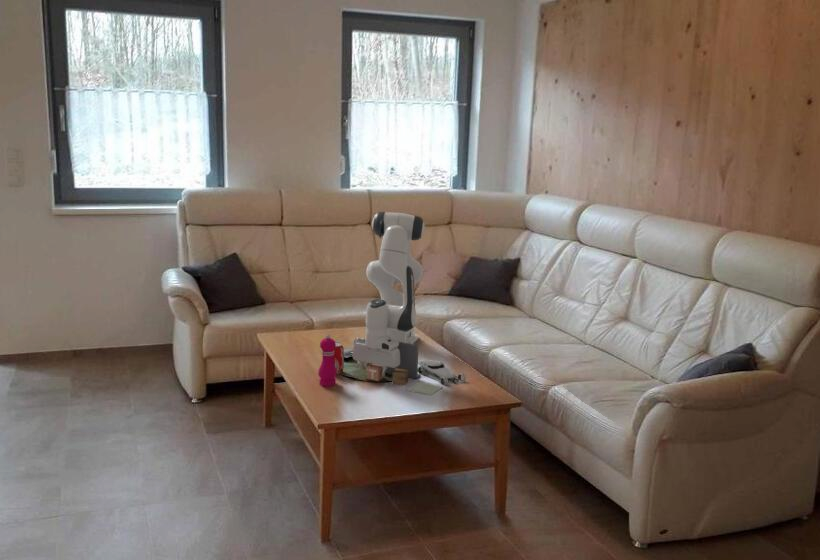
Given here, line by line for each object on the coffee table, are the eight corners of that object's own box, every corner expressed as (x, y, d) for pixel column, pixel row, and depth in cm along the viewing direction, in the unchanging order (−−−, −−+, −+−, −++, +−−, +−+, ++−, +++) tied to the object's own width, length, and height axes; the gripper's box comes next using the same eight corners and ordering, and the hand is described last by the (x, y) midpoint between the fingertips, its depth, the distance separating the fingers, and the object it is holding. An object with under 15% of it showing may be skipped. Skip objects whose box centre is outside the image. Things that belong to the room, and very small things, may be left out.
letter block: (373, 375, 311) (373, 363, 310) (384, 377, 309) (384, 365, 308) (366, 378, 307) (367, 366, 306) (377, 381, 304) (378, 369, 303)
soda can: (340, 375, 310) (341, 347, 307) (323, 374, 311) (324, 345, 309) (345, 370, 317) (346, 342, 314) (329, 368, 318) (329, 340, 316)
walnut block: (395, 380, 307) (395, 368, 306) (407, 381, 306) (408, 369, 305) (392, 384, 302) (392, 372, 301) (404, 385, 301) (405, 373, 300)
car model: (445, 388, 301) (445, 375, 300) (410, 370, 321) (411, 358, 319) (467, 383, 307) (468, 371, 306) (432, 366, 327) (432, 354, 326)
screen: (377, 367, 321) (378, 335, 318) (420, 376, 312) (421, 343, 309) (372, 370, 317) (373, 338, 314) (415, 379, 308) (416, 346, 305)
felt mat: (419, 382, 304) (419, 382, 304) (442, 387, 300) (442, 386, 300) (407, 390, 296) (407, 389, 296) (431, 395, 291) (431, 394, 291)
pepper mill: (315, 381, 302) (316, 332, 298) (333, 379, 305) (334, 331, 301) (321, 387, 296) (321, 337, 292) (339, 385, 299) (339, 336, 294)
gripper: (349, 338, 306) (349, 371, 309) (394, 347, 297) (394, 381, 300) (358, 334, 312) (357, 367, 315) (402, 343, 303) (401, 376, 306)
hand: (375, 374), depth 307 cm, fingers closed on letter block, 5 cm apart
